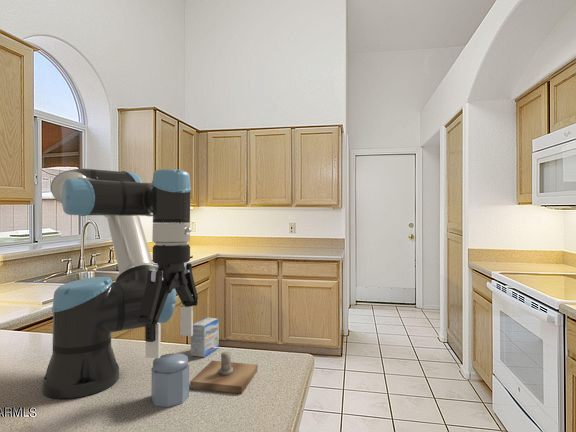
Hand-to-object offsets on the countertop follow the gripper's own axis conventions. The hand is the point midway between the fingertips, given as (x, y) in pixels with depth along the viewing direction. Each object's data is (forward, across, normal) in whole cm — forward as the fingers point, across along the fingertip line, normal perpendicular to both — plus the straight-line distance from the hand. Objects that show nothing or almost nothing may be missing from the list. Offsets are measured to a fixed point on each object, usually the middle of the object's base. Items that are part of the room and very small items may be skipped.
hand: (171, 345), depth 77 cm
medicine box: (+11, +26, +4) cm, 29 cm away
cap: (+11, 0, 0) cm, 11 cm away
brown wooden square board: (+11, +11, -8) cm, 18 cm away
